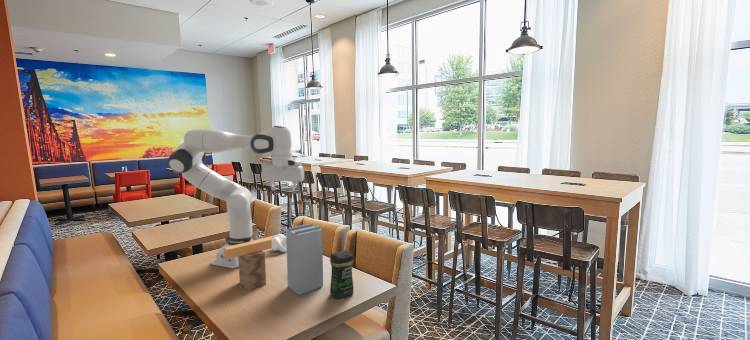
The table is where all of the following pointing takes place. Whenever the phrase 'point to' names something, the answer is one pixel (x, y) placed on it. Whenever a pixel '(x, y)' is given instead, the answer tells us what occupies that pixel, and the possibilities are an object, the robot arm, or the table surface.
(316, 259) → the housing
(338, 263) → the coffee jar
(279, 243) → the crumpled paper ball
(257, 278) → the brown piece
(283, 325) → the table surface
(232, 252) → the tan wooden bar
